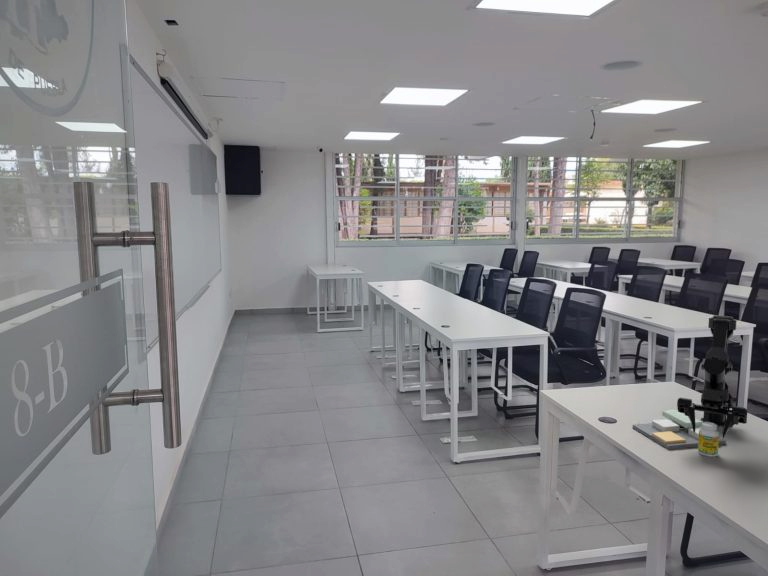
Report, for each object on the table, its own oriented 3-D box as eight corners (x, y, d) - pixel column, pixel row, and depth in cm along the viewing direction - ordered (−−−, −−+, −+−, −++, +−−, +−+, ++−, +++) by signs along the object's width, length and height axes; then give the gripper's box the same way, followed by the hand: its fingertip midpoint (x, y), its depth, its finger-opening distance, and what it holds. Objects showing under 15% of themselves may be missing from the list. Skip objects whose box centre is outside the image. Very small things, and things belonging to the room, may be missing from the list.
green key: (677, 417, 190) (677, 409, 189) (702, 430, 178) (702, 421, 178) (662, 418, 189) (662, 410, 188) (686, 431, 177) (686, 423, 177)
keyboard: (685, 423, 188) (686, 415, 188) (725, 443, 171) (726, 435, 170) (632, 427, 185) (632, 419, 185) (667, 449, 167) (668, 440, 167)
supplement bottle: (714, 450, 166) (716, 421, 165) (720, 458, 161) (722, 428, 159) (695, 448, 167) (697, 420, 166) (700, 456, 162) (702, 426, 161)
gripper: (679, 373, 170) (672, 416, 162) (749, 382, 159) (746, 429, 151) (681, 390, 177) (674, 432, 169) (748, 400, 166) (744, 446, 159)
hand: (708, 434), depth 162 cm, fingers open, 7 cm apart
